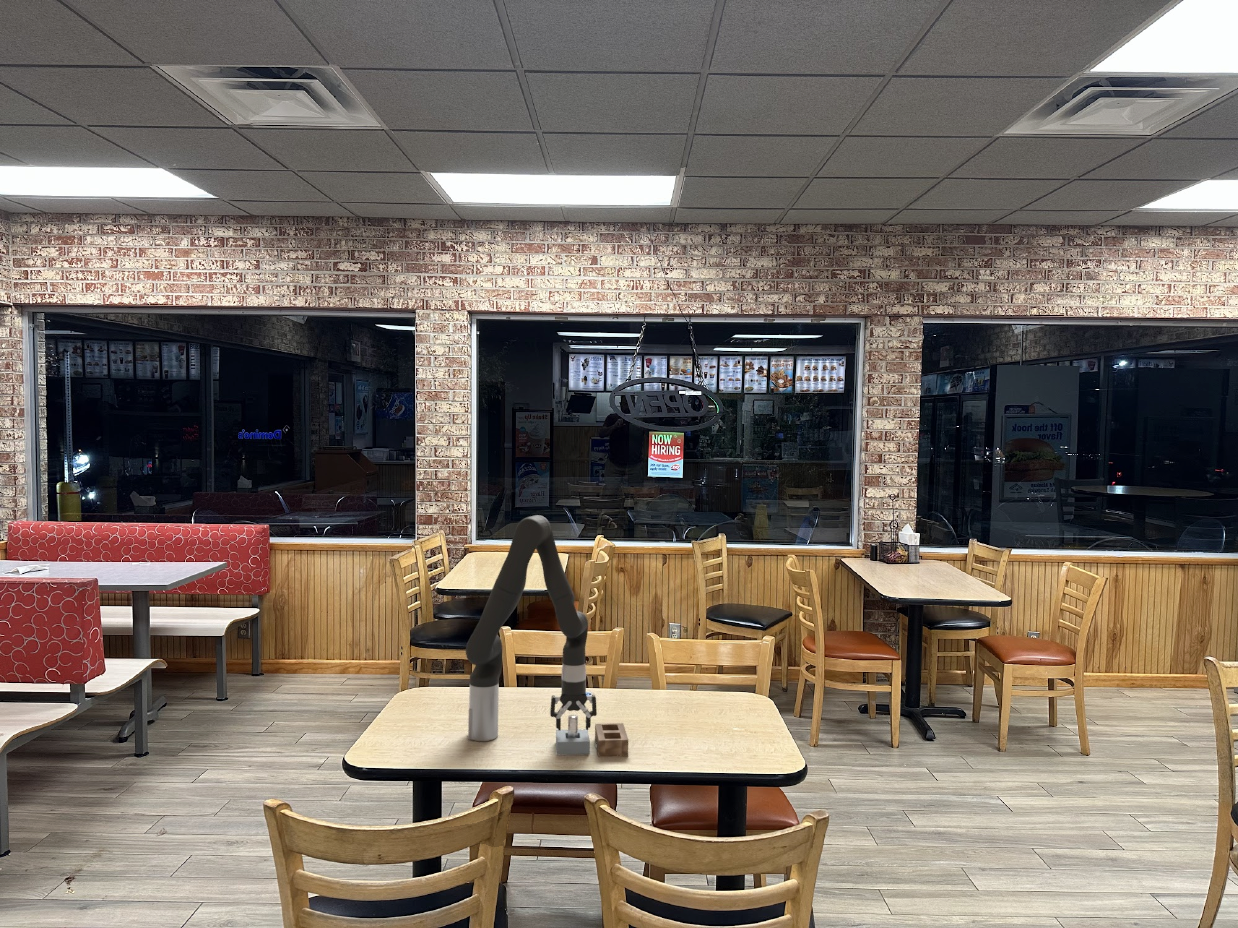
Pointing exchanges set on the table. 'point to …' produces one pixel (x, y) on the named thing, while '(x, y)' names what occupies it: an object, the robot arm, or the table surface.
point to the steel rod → (572, 726)
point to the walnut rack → (611, 740)
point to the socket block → (572, 743)
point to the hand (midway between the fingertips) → (573, 729)
